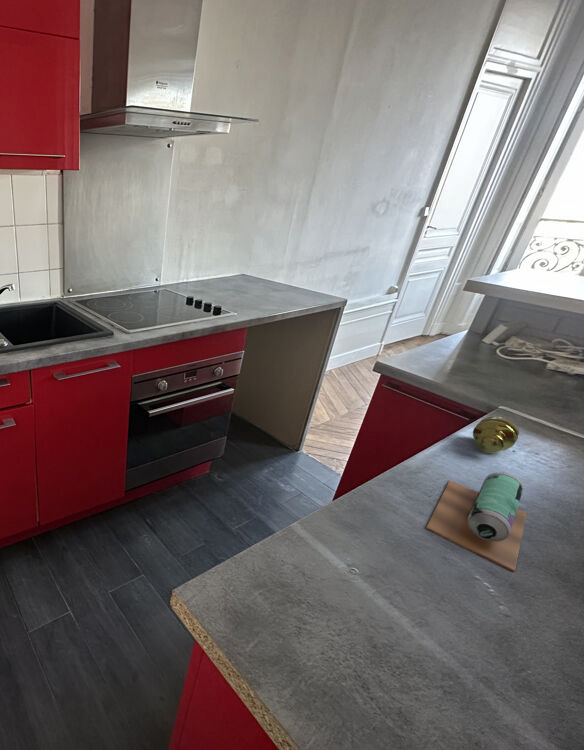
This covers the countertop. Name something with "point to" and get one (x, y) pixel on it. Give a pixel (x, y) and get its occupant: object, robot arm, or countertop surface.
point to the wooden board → (454, 527)
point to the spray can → (495, 507)
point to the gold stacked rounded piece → (495, 434)
